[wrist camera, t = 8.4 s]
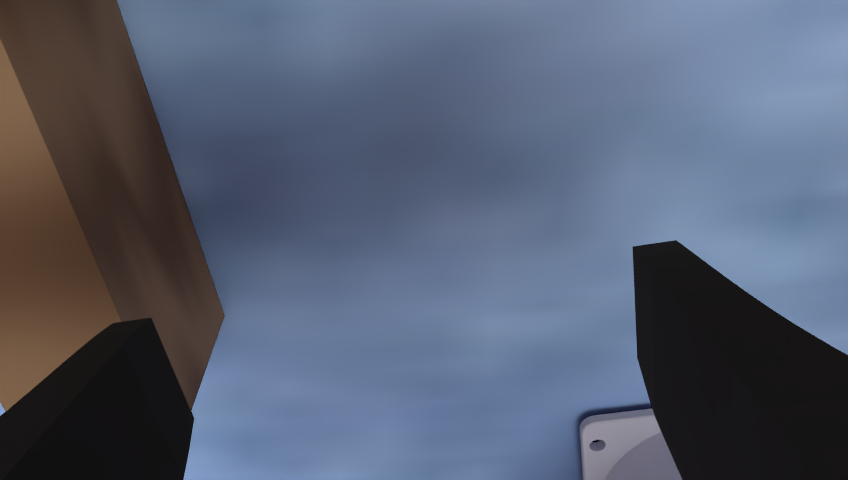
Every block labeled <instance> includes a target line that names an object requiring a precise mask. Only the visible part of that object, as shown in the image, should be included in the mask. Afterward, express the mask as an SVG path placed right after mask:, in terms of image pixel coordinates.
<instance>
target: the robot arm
mask: <svg viewBox="0 0 848 480" xmlns="http://www.w3.org/2000/svg"><path fill="white" fill-rule="evenodd" d="M633 264H634V287H635V311H636V335H637V358H638V362H639V365H640V369H641V372H642V375H643V379H644V382H645V386H646V389H647V393H648V396H649V399H650V403H651V406H652V409H644V410H635V411H627V412H618V413H610V414H601V415H594V416H590V417H587V418H586V419H584V420H583V421H582V423H581V424H580V428H579V429H580V444H581V458H582V473H583V480H848V355H846V354H845V353H843V352H841V351H839V350H837V349H835V348H834V347H832V346H830V345H829V344H827V343H825V342H824V341H822V340H820V339H819V338H817V337H815V336H814V335H812V334H810V333H808V332H807V331H805V330H803V329H802V328H800V327H798V326H797V325H795V324H794V323H792V322H791V321H789V320H787V319H786V318H784V317H783V316H781V315H780V314H778V313H776V312H775V311H773V310H772V309H770V308H769V307H767V306H766V305H764V304H763V303H761V302H760V301H759V300H757V299H756V298H754V297H753V296H751V295H750V294H748V293H747V292H746V291H744V290H743V289H741V288H740V287H738V286H737V285H736V284H734V283H733V282H732V281H730V280H729V279H727V278H726V277H725V276H723V275H722V274H721V273H719V272H718V271H717V270H715V269H714V268H713V267H711V266H710V265H708V264H707V263H706V262H704V261H703V260H702V259H700V258H699V257H698V256H696V255H695V254H694V253H692V252H691V251H690V250H688V249H687V248H686V247H684V246H683V245H682V244H680V243H679V242H677V241H676V240H675V241H668V242H662V243H655V244H648V245H641V246H634V247H633ZM193 422H194V417H193V415H192V412H191V410H190V407H189V405H188V403H187V400H186V398H185V396H184V393H183V391H182V389H181V386H180V384H179V382H178V379H177V377H176V375H175V372H174V370H173V367H172V365H171V363H170V360H169V358H168V356H167V353H166V351H165V349H164V346H163V344H162V342H161V339H160V337H159V335H158V332H157V330H156V328H155V325H154V323H153V320H152V318H144V319H137V320H131V321H124V322H117V323H112V324H111V325H109V326H108V327H107V328H105V329H104V330H102V331H101V332H100V333H98V334H97V335H96V336H94V337H93V338H92V339H91V340H89V341H88V342H87V343H86V344H85V345H83V346H82V347H81V348H80V349H79V350H77V351H76V352H75V353H74V354H73V355H71V356H70V357H69V358H68V359H67V360H66V361H64V362H63V363H62V364H61V365H60V366H59V367H57V368H56V369H55V370H54V371H53V372H52V373H50V374H49V375H48V376H47V377H46V378H45V379H43V380H42V381H41V382H40V383H39V384H38V385H36V386H35V387H34V388H33V389H32V390H31V391H29V392H28V393H27V394H26V395H25V396H24V397H22V398H21V399H20V400H19V401H18V402H17V403H15V404H14V405H13V406H12V407H11V408H9V409H8V410H7V411H6V412H5V413H4V414H2V415H1V416H0V480H183V478H184V473H185V468H186V463H187V458H188V453H189V447H190V441H191V434H192V428H193ZM594 440H600V441H599V442H596V443H595V442H592V441H594Z"/></svg>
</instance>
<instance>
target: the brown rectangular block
mask: <svg viewBox="0 0 848 480" xmlns="http://www.w3.org/2000/svg"><path fill="white" fill-rule="evenodd" d="M144 318H152V320H153V323H154V325H155V328H156V330H157V332H158V335H159V337H160V339H161V342H162V344H163V346H164V349H165V351H166V353H167V356H168V358H169V360H170V363H171V365H172V367H173V370H174V372H175V375H176V377H177V379H178V382H179V384H180V386H181V389H182V391H183V393H184V396H185V398H186V400H187V403H188V405H189V407H190V410H192V407H193V404H194V401H195V399H196V396H197V393H198V390H199V387H200V384H201V382H202V379H203V376H204V373H205V370H206V367H207V364H208V362H209V359H210V356H211V353H212V350H213V347H214V344H215V342H216V339H217V336H218V333H219V330H220V327H221V324H222V322H223V319H224V313H223V310H222V307H221V304H220V301H219V298H218V295H217V292H216V289H215V286H214V284H213V281H212V278H211V275H210V272H209V269H208V266H207V263H206V260H205V257H204V254H203V251H202V249H201V246H200V243H199V240H198V237H197V234H196V231H195V228H194V225H193V222H192V219H191V217H190V214H189V211H188V208H187V205H186V202H185V199H184V196H183V193H182V190H181V187H180V185H179V182H178V179H177V176H176V173H175V170H174V167H173V164H172V161H171V158H170V155H169V152H168V150H167V147H166V144H165V141H164V138H163V135H162V132H161V129H160V126H159V123H158V120H157V118H156V115H155V112H154V109H153V106H152V103H151V100H150V97H149V94H148V91H147V88H146V85H145V83H144V80H143V77H142V74H141V71H140V68H139V65H138V62H137V59H136V56H135V53H134V51H133V48H132V45H131V42H130V39H129V36H128V33H127V30H126V27H125V24H124V21H123V19H122V16H121V13H120V10H119V7H118V4H117V1H116V0H0V402H1V404H2V406H3V408H4V409H5V411H7V410H8V409H9V408H11V407H12V406H13V405H14V404H15V403H17V402H18V401H19V400H20V399H21V398H22V397H24V396H25V395H26V394H27V393H28V392H29V391H31V390H32V389H33V388H34V387H35V386H36V385H38V384H39V383H40V382H41V381H42V380H43V379H45V378H46V377H47V376H48V375H49V374H50V373H52V372H53V371H54V370H55V369H56V368H57V367H59V366H60V365H61V364H62V363H63V362H64V361H66V360H67V359H68V358H69V357H70V356H71V355H73V354H74V353H75V352H76V351H77V350H79V349H80V348H81V347H82V346H83V345H85V344H86V343H87V342H88V341H89V340H91V339H92V338H93V337H94V336H96V335H97V334H98V333H100V332H101V331H102V330H104V329H105V328H107V327H108V326H109V325H111V324H112V323H117V322H124V321H131V320H137V319H144Z"/></svg>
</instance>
